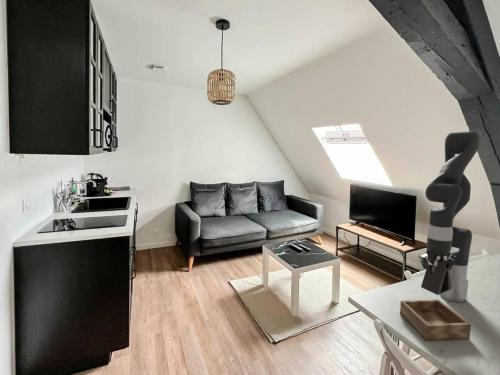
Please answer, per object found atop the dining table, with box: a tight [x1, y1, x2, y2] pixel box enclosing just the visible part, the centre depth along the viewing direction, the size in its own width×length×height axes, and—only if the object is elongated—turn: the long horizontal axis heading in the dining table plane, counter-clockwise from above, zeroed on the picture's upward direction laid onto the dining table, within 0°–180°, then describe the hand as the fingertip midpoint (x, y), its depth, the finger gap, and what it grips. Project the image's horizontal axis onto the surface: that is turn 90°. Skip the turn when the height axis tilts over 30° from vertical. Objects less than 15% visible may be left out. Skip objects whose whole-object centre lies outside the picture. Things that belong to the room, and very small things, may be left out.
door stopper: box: [420, 258, 452, 296], centre depth 100 cm, size 9×6×12 cm, turn 115°
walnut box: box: [399, 298, 472, 342], centre depth 103 cm, size 16×16×6 cm
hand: (435, 280), depth 101 cm, fingers closed on door stopper, 2 cm apart
